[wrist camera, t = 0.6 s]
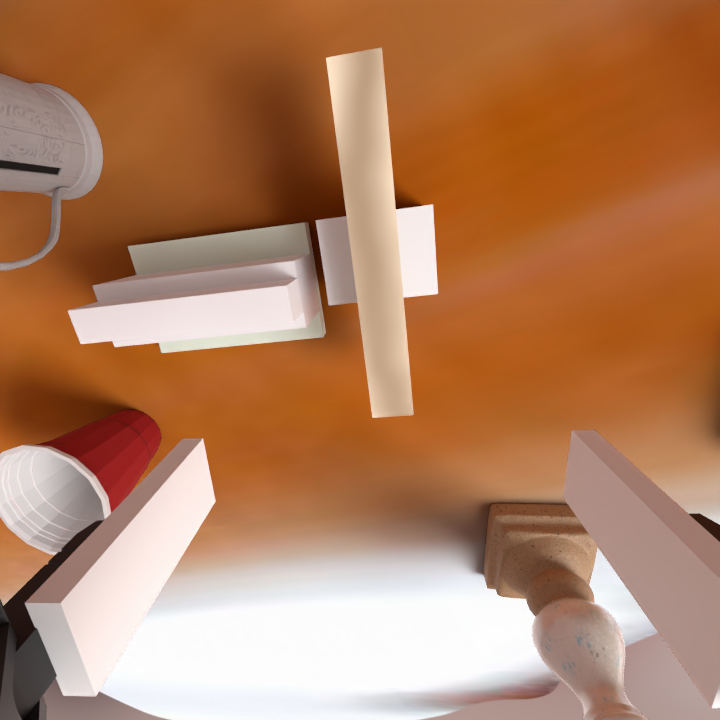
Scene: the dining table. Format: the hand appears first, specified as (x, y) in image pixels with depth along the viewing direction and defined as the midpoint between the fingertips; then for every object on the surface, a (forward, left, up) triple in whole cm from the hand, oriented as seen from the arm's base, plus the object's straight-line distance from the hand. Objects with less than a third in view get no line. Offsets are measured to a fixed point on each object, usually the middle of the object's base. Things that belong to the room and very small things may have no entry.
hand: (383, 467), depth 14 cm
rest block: (0, -6, -23) cm, 24 cm away
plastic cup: (+29, +10, -23) cm, 39 cm away
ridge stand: (+14, -4, -23) cm, 27 cm away
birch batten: (0, -6, -16) cm, 17 cm away
